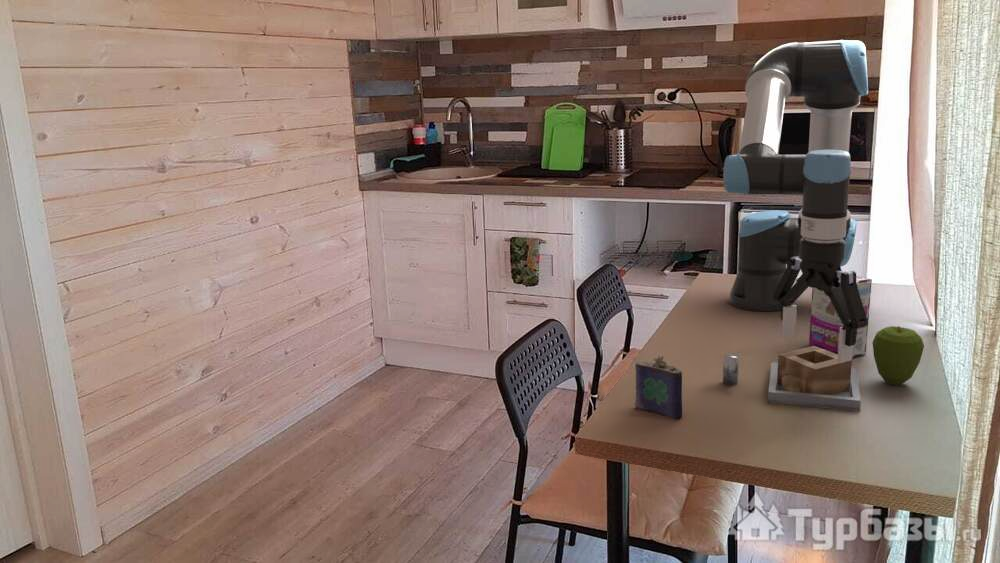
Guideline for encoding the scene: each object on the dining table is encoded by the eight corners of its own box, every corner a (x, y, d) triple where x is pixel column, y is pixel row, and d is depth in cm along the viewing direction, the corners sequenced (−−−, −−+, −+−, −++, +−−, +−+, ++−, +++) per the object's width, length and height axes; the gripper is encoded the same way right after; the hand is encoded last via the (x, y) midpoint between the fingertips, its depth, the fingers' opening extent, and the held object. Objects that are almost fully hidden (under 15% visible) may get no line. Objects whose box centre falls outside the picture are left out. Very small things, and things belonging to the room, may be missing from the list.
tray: (771, 371, 159) (771, 362, 159) (855, 378, 154) (855, 369, 153) (768, 402, 145) (768, 392, 145) (860, 411, 140) (860, 400, 140)
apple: (877, 392, 148) (882, 333, 145) (863, 374, 156) (868, 318, 153) (927, 392, 146) (933, 333, 143) (910, 375, 154) (916, 318, 151)
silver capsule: (723, 379, 157) (724, 352, 155) (738, 380, 156) (739, 354, 154) (722, 384, 154) (722, 357, 153) (737, 386, 153) (738, 359, 152)
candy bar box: (867, 354, 166) (873, 278, 162) (850, 359, 164) (856, 282, 159) (823, 339, 176) (828, 267, 171) (807, 344, 173) (812, 271, 169)
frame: (768, 385, 151) (770, 356, 149) (812, 374, 155) (814, 345, 154) (804, 402, 143) (806, 371, 141) (849, 390, 147) (851, 360, 146)
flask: (632, 408, 145) (633, 353, 143) (641, 403, 147) (641, 349, 145) (677, 422, 139) (678, 364, 136) (686, 416, 141) (687, 359, 139)
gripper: (757, 228, 151) (752, 333, 157) (864, 255, 130) (854, 376, 136) (787, 223, 154) (781, 326, 160) (897, 249, 133) (886, 367, 139)
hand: (815, 349), depth 148 cm, fingers open, 13 cm apart
